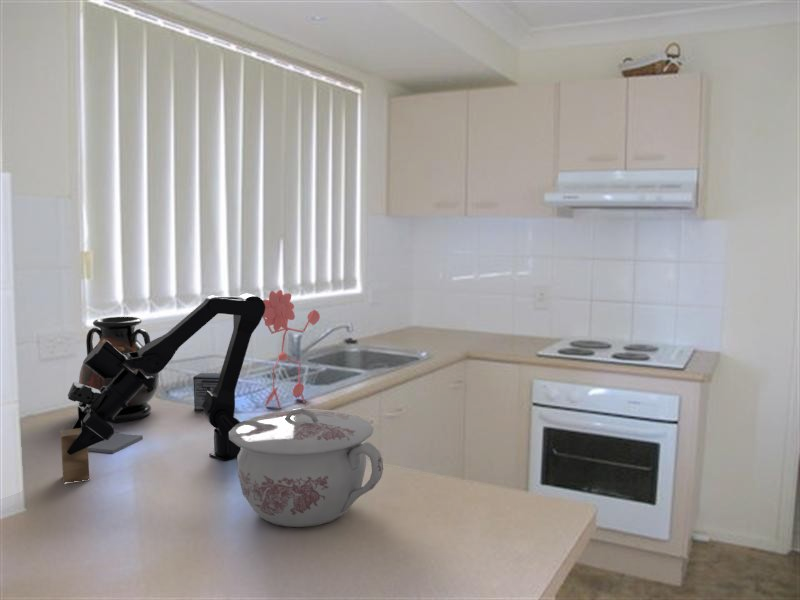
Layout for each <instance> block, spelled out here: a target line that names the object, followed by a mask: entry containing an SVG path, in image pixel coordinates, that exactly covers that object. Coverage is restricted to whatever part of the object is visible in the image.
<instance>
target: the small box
mask: <svg viewBox="0 0 800 600" xmlns="http://www.w3.org/2000/svg"><path fill="white" fill-rule="evenodd" d="M220 374H221V372H213V373H212V372H209V373H208V372H201V373H198V374H197V375H194V376H193V377H192V379H193V398H194V401H193V404H194V410H193V411H194V412H203V410H204V409H203V408H202V404H203V403H204V401H205V396H206V391H209V392H213V390H214V389H215V388H216V386H217V384H218V380H219V377H220Z"/></svg>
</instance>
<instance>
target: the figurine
mask: <svg viewBox="0 0 800 600" xmlns="http://www.w3.org/2000/svg"><path fill="white" fill-rule="evenodd" d="M291 299H292V294H291V293H290V292H286V293H284V294H283V290H281V289H278V290H277V291H276V292H275V291H274V290H271V291H270V292H269V295H268V299H262V300H263V302H264V304H265V313H264V315H263V317H262V319H263V321H264V325H265V326H266V327H267V328H268V330H269V331H270V334H271V335H272V334H275V333H279V332H282V331H284V333H283V335H282V342H281V343H282V345H281V352H280V353H278V356H277V358H278V359H277V361H276V362H275V364H274V366H273V368H272V391H271V393H269V396H267V397H268V398H266V402H265V405H264V406H265V407H267V406H268V404H270V402H272V400H273V399H274V397H275V399H276V402H277V403H276V404H277V406H278V409H279V408H281V409H282V407H281V404H280V400H279V396H278V393H277V391H278V387H275V368H276V366H277V364H278V363H279V361H280V362H284V361H286V360H290V361H293V362H295V363H298V367H299V368H298V377H297V378H298V380H297V384H295V385H294V387H293V388H292V395H293V396H294V398H296V399H298V398H299V397H300V396H301V399H302V403H303V404H305V403H306V401H305V398H304V395H303V393H304V390H305V386H304V384H303V383H302V382H300V379H301V378H300V377H301V364H302V363H301V362H300V361H297V360H295V359H292V358H291V357H288V354H287V353H286V352H284V346H285V341H286V339H285V338H286V334H287V332H288V331H289V330H290V331H294V332H298V333H304V332H305V331H306V330H307V327H308V326H309V324H311V325H312V326H314V325H316V324H317V322H319V320H320V318H321V317H320V313H319V312H318V311H317V310H316V309H313V310H311V311H310V312H309V313H308V315H307V322H306V324H305V325H304V328H303V330H301V329H295V328H290V327H288V322H289V321H294V319H295V317H296V315H295V313H294V311H293V310H294V309H295V305H294V304H293V302H291ZM271 326H273V327H272V328H273V329H274V331H273V330H272V328H271ZM273 396H274V397H273ZM297 397H298V398H297ZM318 399H320V400H321V398H320V397H318ZM266 405H267V406H266Z"/></svg>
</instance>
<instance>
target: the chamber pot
mask: <svg viewBox="0 0 800 600" xmlns="http://www.w3.org/2000/svg"><path fill="white" fill-rule="evenodd" d="M374 429H375V428H374V427H373V426H372V424H371V423H370V422H369V421H368V420H367V419H365V418H362V417H360V416H358V415H355V414H352V413H346V412H343V411H338V410H329V409H316V408H315V409H311V408H310V409H309V408H308V409H307V408H306V409H305V408H300V407H298V408H294V409H287V410H280V411H274V412H267V413H264V414H260V415H257V416H253V417H250V418H246V419H245V420H243V421H240V423H238V424H236V425H235V426H234V427H233V428H232V429H231V430H230V431H229V440H231V441H232V442H233V443H235V444H236V445H237V446H239V447H241V450H240V452H239V454H238V456H237V457H236V460H237V461H236V462H237V463H236V464H237V476H238V479H239V480H238V481H239V484H240V489H241V492H242V495H243V496H244V498H245V500H246V502H248V504H249V506H250V507H251V508H252V510H253V511H254V513H256V514H257V515H258V516H259V517H260V518H261V519H262V520H264V521H265V522H267V523H270V524H273V525H277V526H282V527H291V528H295V527H296V528H306V527H313V526H318V525H323V524H327V523H330V522H332V521H334V520H336V519H339V518H340V517H341V516H342V515H344V514H345V513H346V511H348V510H349V509H350V507H352V505H353V504H354V503H355V502H356V501H357V500H358V499H359V498H360V497H361V496H363V495H364V494H366V493H368V492H370V491H371V490H373V489H374V488H375V487H376V486H377V484H378V483H379V482H380V480H381V479H382V476H383V472H384V463H383V462H384V461H383V460H384V458H383V456H382V453H381V452H380V450H379V449H377V447H376V446H375V445H374V444H373V443H371V441H366V440H367V439H369V438H370V437H371V436H372V435H373V433H374ZM364 441H366V442H364ZM363 442H364V443H363ZM367 457H368V458H369V460H370V463H371V473H370V477H369V480H368V481H367V482H366V483H365V485H364V486H362V485H363V480H364V477H365V472H366V466H367Z"/></svg>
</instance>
